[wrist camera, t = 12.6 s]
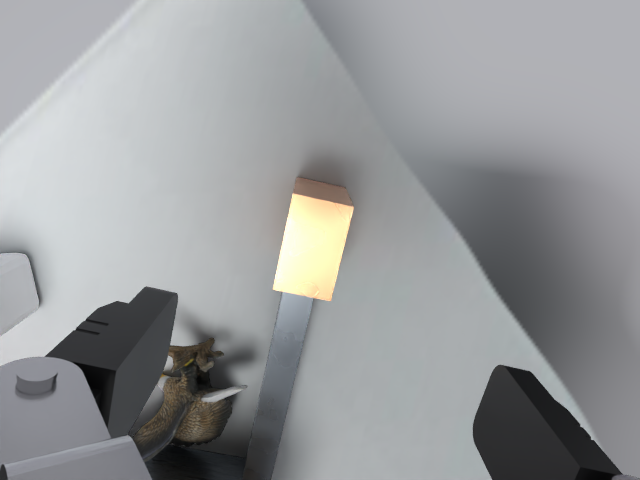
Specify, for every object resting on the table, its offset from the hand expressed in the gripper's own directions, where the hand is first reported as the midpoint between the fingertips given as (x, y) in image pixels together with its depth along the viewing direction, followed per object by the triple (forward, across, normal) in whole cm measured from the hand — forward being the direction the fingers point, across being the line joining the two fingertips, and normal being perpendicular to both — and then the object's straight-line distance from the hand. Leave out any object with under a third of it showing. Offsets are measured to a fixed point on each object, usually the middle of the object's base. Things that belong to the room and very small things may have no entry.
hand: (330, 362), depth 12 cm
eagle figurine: (+18, +6, +14) cm, 24 cm away
